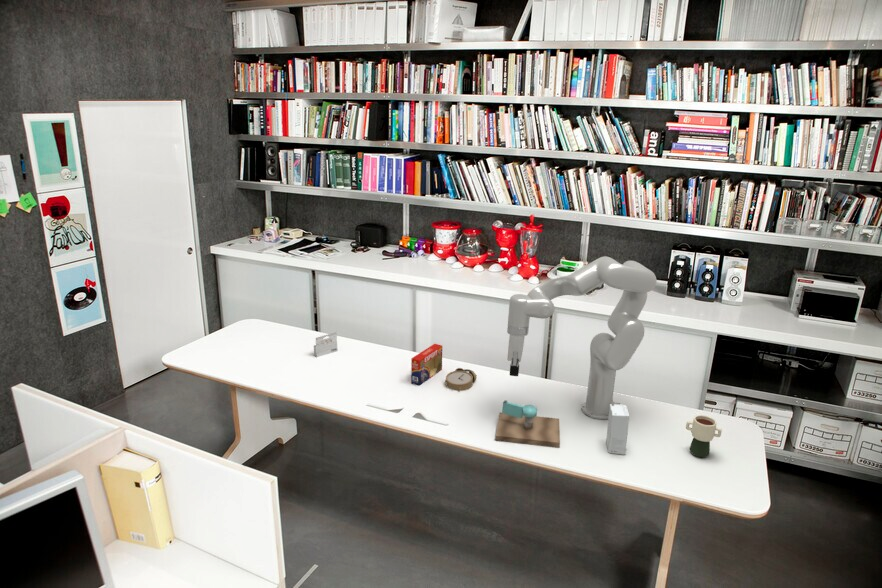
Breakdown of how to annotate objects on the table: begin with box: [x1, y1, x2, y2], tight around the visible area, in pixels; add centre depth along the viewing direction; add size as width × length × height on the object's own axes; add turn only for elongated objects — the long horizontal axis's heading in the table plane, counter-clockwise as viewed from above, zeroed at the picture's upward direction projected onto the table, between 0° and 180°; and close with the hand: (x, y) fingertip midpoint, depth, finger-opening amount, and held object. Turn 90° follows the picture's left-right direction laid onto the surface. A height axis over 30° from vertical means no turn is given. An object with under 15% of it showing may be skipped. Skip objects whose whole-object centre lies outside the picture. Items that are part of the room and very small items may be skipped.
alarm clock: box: [444, 367, 477, 392], centre depth 247 cm, size 11×5×15 cm
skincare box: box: [605, 404, 630, 456], centre depth 202 cm, size 8×6×15 cm
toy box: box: [410, 343, 443, 387], centre depth 250 cm, size 18×4×12 cm, turn 149°
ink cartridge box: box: [313, 331, 339, 358], centre depth 271 cm, size 2×11×10 cm, turn 130°
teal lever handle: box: [501, 400, 538, 418], centre depth 212 cm, size 12×5×5 cm, turn 63°
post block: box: [495, 412, 561, 448], centre depth 212 cm, size 22×16×7 cm
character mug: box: [685, 414, 723, 458], centre depth 200 cm, size 11×7×13 cm, turn 64°
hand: (513, 374), depth 217 cm, fingers closed
